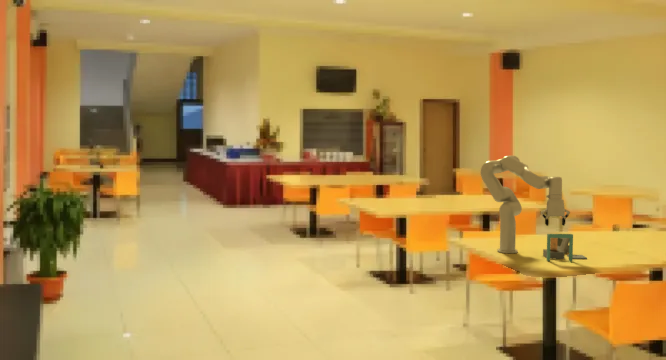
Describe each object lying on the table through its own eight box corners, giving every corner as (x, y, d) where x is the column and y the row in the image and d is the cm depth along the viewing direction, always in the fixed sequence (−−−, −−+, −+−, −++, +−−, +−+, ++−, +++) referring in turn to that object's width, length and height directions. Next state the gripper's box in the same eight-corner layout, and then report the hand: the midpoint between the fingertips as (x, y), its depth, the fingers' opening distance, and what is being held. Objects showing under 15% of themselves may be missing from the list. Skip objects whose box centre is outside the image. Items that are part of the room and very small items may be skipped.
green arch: (546, 260, 409) (547, 233, 408) (570, 260, 409) (571, 233, 407) (547, 261, 406) (548, 234, 405) (572, 261, 406) (573, 234, 404)
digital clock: (551, 249, 447) (551, 233, 446) (565, 250, 446) (566, 233, 445) (556, 254, 431) (557, 237, 430) (571, 254, 430) (572, 237, 429)
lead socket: (543, 255, 425) (543, 249, 425) (559, 255, 425) (559, 249, 424) (547, 258, 415) (547, 252, 415) (564, 258, 415) (564, 252, 414)
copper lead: (549, 256, 422) (549, 237, 421) (556, 256, 422) (556, 237, 421) (551, 257, 418) (551, 238, 417) (557, 257, 418) (558, 238, 417)
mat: (567, 256, 424) (567, 254, 424) (581, 256, 424) (581, 254, 424) (571, 259, 414) (572, 257, 414) (587, 259, 414) (587, 257, 414)
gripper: (542, 197, 414) (542, 226, 415) (571, 197, 413) (571, 226, 414) (539, 196, 421) (539, 224, 422) (568, 196, 420) (567, 224, 421)
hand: (555, 225), depth 418 cm, fingers open, 9 cm apart
